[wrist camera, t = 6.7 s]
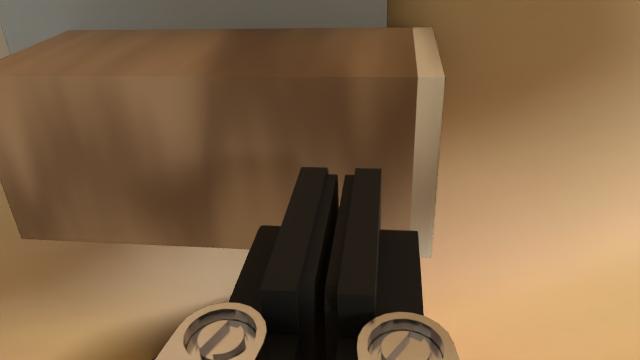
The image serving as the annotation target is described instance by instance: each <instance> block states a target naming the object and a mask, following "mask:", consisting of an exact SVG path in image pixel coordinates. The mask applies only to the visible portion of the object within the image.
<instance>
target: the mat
mask: <svg viewBox="0 0 640 360" xmlns="http://www.w3.org/2000/svg"><path fill="white" fill-rule="evenodd" d="M0 23H1V26H2V29H3V32H4V35H5V39H6V42H7V45H8V48H9V51H10V55H12V54H14V53H16V52H19V51H21V50H23V49H26V48H28V47H30V46H33V45H35V44H37V43H40V42H42V41H44V40H47V39H49V38H51V37H54V36H56V35H58V34H61V33H63V32H65V31H68V30H156V29H271V28H385V27H387V0H0Z"/></svg>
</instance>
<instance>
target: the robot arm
mask: <svg viewBox="0 0 640 360" xmlns="http://www.w3.org/2000/svg"><path fill="white" fill-rule="evenodd" d="M381 175H382V169H378V168H355V174H354V175H345V178H344V183H343V189H342V194H341V200H340V206H339V194H338V175H337V174H329V172H328V167H301V169H300V172H299V175H298V178H297V181H296V184H295V187H294V189H293V192H292V195H291V198H290V201H289V204H288V207H287V210H286V213H285V216H284V219H283V222H282V224H281V226H270V225H262V226H260V227H259V229H258V231H257V234H256V236H255V239H254V241H253V244H252V246H251V248H250V251H249V253H248V256H247V258H246V261H245V263H244V266H243V268H242V271H241V273H240V276H239V278H238V280H237V283H236V285H235V288H234V290H233V293H232V295H231V298H230V300H229V303H227V302H225V303H219V304H213V305H210V306H207V307H204V308H202V309H199V310H197V311H196V312H194V313H193V314H191V315H190V316H188V317H187V318H186V319H185V320H184V321H183V322H182V323H181V324H180V325H179V327H178V328H177V329H176V331H175V332H174V334H173V335H172V336H171V338H170V339H169V341H168V342H167V343H166V345H165V346H164V348H163V349H162V350H161V352H160V353H159V355H158V356H157V358H156V359H155V360H459V357H458V354H457V351H456V348H455V345H454V342H453V340H452V339H451V337H450V335H449V333H448V332H447V331H446V330H445V329H444V328H443V327H442V326H441V325H440V324H439V323H437V322H435V321H433V320H431V319H430V318H428V317H426V316H424V314H423V299H422V284H421V269H420V253H419V238H418V231H411V230H383V229H381Z"/></svg>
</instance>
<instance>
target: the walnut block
mask: <svg viewBox="0 0 640 360" xmlns="http://www.w3.org/2000/svg"><path fill="white" fill-rule="evenodd" d="M444 85H445V75H444V71H443V67H442V63H441V59H440V55H439V51H438V47H437V43H436V39H435V35H434V31H433V27H385V28H271V29H156V30H68V31H65V32H63V33H61V34H58V35H56V36H54V37H51V38H49V39H47V40H44V41H42V42H40V43H37V44H35V45H33V46H30V47H28V48H26V49H23V50H21V51H19V52H16V53H14V54H12V55H9V56H7V57H5V58H2V59H0V181H1V184H2V186H3V189H4V192H5V194H6V197H7V200H8V203H9V205H10V208H11V211H12V213H13V216H14V219H15V222H16V224H17V227H18V230H19V232H20V235H21V238H22V239H40V240H62V241H83V242H105V243H126V244H148V245H169V246H191V247H212V248H234V249H250V248H251V246H252V244H253V241H254V239H255V236H256V234H257V231H258V229H259V227H260V226H262V225H270V226H281V224H282V222H283V219H284V216H285V213H286V210H287V207H288V204H289V201H290V198H291V195H292V192H293V189H294V187H295V184H296V181H297V178H298V175H299V172H300V169H301V167H328V172H329V174H337V175H338V194H339V206H340V200H341V194H342V189H343V183H344V178H345V175H354V174H355V168H378V169H382V175H381V229H383V230H411V231H418V238H419V253H420V257H427V258H431V253H432V240H433V227H434V214H435V202H436V189H437V176H438V163H439V150H440V137H441V124H442V111H443V98H444Z"/></svg>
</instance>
